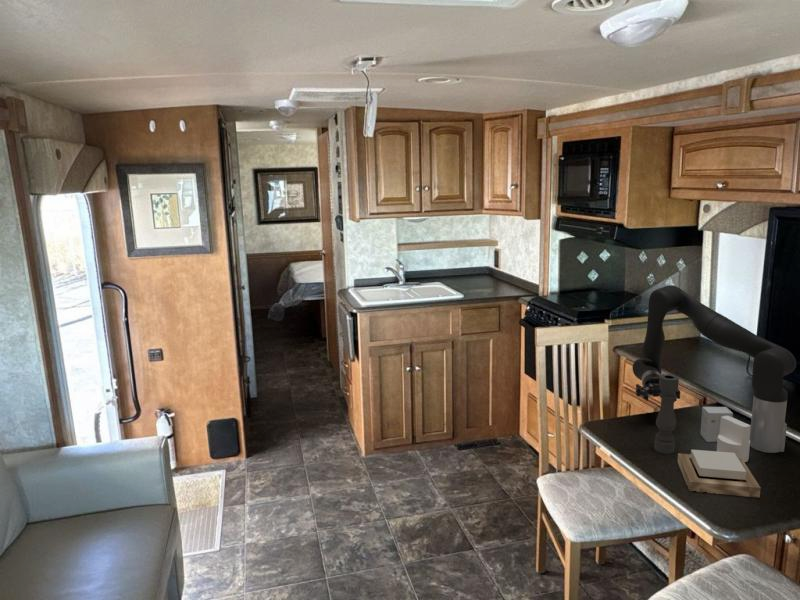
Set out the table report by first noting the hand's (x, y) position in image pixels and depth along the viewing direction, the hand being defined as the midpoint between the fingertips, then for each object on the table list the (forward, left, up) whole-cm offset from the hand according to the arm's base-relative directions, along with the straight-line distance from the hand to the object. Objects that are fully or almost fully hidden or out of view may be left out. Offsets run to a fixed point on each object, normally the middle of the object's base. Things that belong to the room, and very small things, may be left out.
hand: (660, 398), depth 208 cm
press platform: (-11, +29, -9) cm, 33 cm away
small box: (-18, 0, -13) cm, 22 cm away
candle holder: (0, +12, -13) cm, 18 cm away
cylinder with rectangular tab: (-20, +13, -13) cm, 27 cm away
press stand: (-12, +30, -13) cm, 34 cm away
